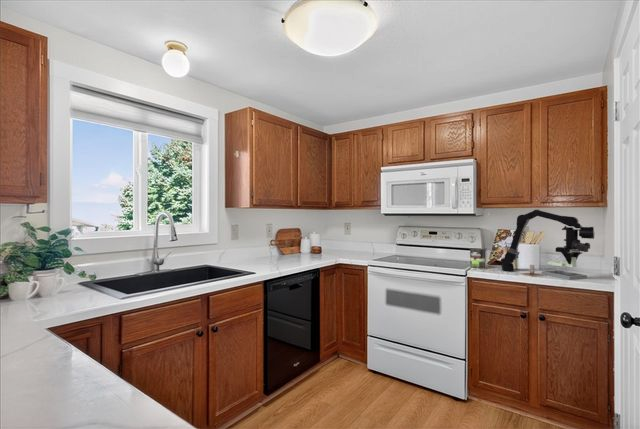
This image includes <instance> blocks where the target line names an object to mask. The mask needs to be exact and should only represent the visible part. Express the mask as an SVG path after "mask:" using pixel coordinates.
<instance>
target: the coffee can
mask: <svg viewBox="0 0 640 429" xmlns="http://www.w3.org/2000/svg"><path fill="white" fill-rule="evenodd" d="M486 253H487V249H485V248H478V247H476V248H475V247H474V248H469V263H470V264H469V267H470V270H477V271H481V270H483V271H485V270H487V269H486V266H487V265H486V264H487V263H486V257H487V254H486Z"/></svg>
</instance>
